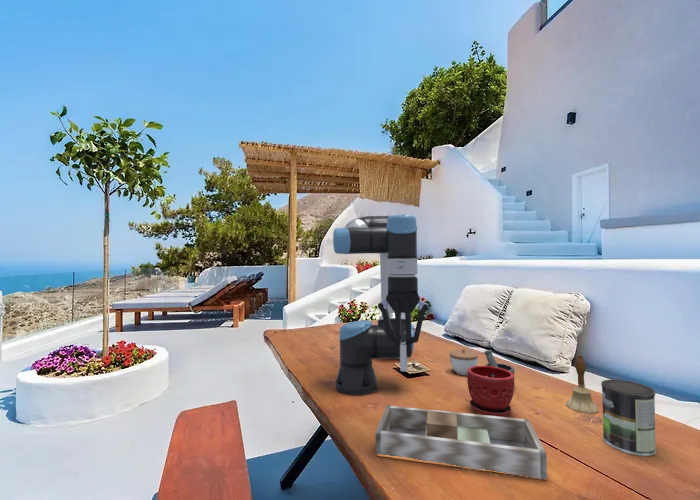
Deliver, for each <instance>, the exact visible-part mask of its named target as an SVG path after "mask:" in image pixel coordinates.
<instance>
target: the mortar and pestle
mask: <svg viewBox="0 0 700 500" xmlns="http://www.w3.org/2000/svg"><path fill="white" fill-rule="evenodd" d="M483 354H484V356H486V360H487V364H484V366H492V367H497V368H502V369H505V370H508V371H510V372H512V373H513V374H514V375H515V368H514V367H513V366H511V365H508V364H505V363H498V362H497V361H496V359H495V357H494V354H493V351H492V349H487V350H485V351H484V352H483ZM491 376H492V377H494V376H495V375H494V374H491ZM486 377H488V376H486ZM500 378H501V377H500Z"/></svg>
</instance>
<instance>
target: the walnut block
mask: <svg viewBox="0 0 700 500" xmlns="http://www.w3.org/2000/svg"><path fill="white" fill-rule="evenodd" d="M426 425H427V436H431V437H439V438H447V439H456V440H458V437H457V416H456V413H446V412H437V411H428V414H427V423H426Z"/></svg>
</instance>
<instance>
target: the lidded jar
mask: <svg viewBox="0 0 700 500" xmlns="http://www.w3.org/2000/svg"><path fill="white" fill-rule="evenodd" d="M478 357H479V354H478V353H477V352H475V351H472V350H466V349H464V348H462V349H455V350H451V351H450V352H449V359H450V362H449V363H450V365H451V367H452V369H453V370H454V372H455V373H456V374H458V375H460V376H467V372H468V368H470V367H473V366H478V364H479V363H478V362H479V361H478V359H479V358H478Z"/></svg>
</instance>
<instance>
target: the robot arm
mask: <svg viewBox="0 0 700 500" xmlns="http://www.w3.org/2000/svg"><path fill="white" fill-rule="evenodd" d="M417 231H418V226H417V218H416V216H415V215H414V214H393V215H368V216H367V215H366V216H360V217H357V218H355V219H352V220H349V222H347V223H346V225H345V226H343V227H336V228H334V230H333V235H332V240H333V241H332V242H333V243H332V245H333V250H334V251H333V252H334V253H335V254H338V255H356V254H359V255H361V254H379V259H380V261H379V262H380V263H379V265H380V269H379V270H380V299H381V300H380V301H381V302H378V304H377V308H378V310H379V311H380V312H381V315H380V317H379V318H378V319H377V324H373V323H372V321H371V320H369V319H368V320H364V319H363V320H355V321H350V322H346V323H344V324H342V325H341V327H340V329H339V337H338V339H339V369H338V371H337V374H336V375H337V376H336V378H335V382H334V383H335V384H334V385H335V390H336V391H337V392H338V393H340V394H343V395H349V396H364V395H369V394H373V393H375V392H376V391H377V390H378V384H379V383H378V379H377V375H376V373H375V370H374V369H375V368H374V367H373V359H388V358H389V359H390V360H393V359H397V360H399V362H400V363H399V367H400V368H399V369H400V370H399V371H400V372H408V368H409V366H408V365H409V364H408V361H409V360H408V359H409V358H411V357H412V355H413V352H414V345H415V344H416V343H418V342H419V339H420V333H421V330H422V326H423V321H424V316H425V313H426V312H427V311H428V309H429V303H427V302H424V301H422V300H421V297H420V295H419V290H418V288H419V286H418V281H419V280H418V277H417V276H416V275H418V253H417V251H418V248H417V247H418V243H417V242H418V236H417V234H418V232H417ZM417 306H418V310H419V313H418V316H417V321H416V325H414V324H412V312H414V310H415V308H416V307H417ZM389 359H388V360H389Z"/></svg>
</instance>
